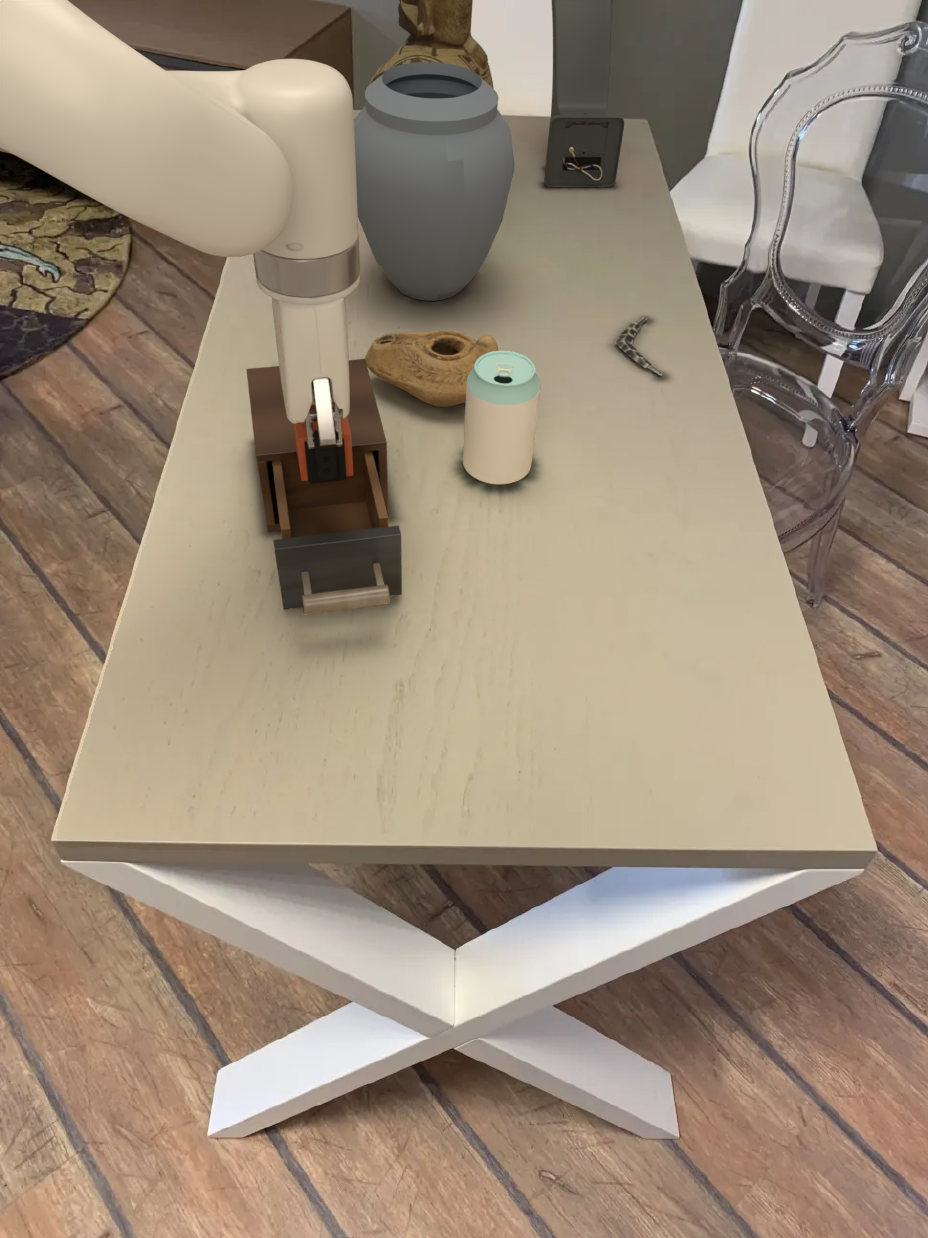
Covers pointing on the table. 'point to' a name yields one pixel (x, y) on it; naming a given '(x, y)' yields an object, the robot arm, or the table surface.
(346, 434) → the block
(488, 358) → the can
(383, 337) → the oil lamp
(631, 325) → the boomerang
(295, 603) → the drawer
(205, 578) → the table surface
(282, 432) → the cabinet
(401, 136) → the vase
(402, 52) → the brown tall carved piece
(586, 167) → the light fixture
